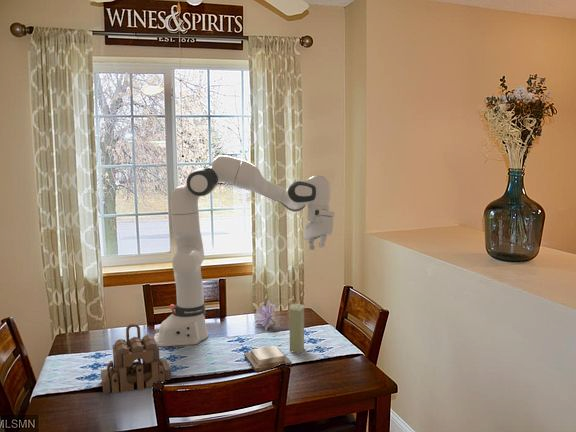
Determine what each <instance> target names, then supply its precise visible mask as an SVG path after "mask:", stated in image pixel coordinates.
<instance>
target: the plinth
mask: <svg viewBox="0 0 576 432" xmlns="http://www.w3.org/2000/svg"><path fill="white" fill-rule="evenodd" d="M244 356H245V357H244ZM243 357H244V358H245V359H247V360H248V361H247V360H246V361H247V362H248V364H249V363H250V364H249V365H250V367H251V366H252V367H251V368H252V369H253V371H254V372H261V371H267V370H271V368H273V369H275V368H274V367H276V366H278V365H279V364H283V363H284V364H287V365H290V366H292V365H293V362H292V360H290V359H289V357H287V355H286V354H285V353H284V352H283V351H282V350H281V349H280V348H279V347H277V346H276V345H272V346H265V347H259V348H251V349H250V352H246V353H244V354H243Z"/></svg>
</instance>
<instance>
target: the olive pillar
mask: <svg viewBox="0 0 576 432" xmlns="http://www.w3.org/2000/svg"><path fill="white" fill-rule="evenodd" d="M288 308H289V310H288V313H289V352H290V351H293V352H292V353H297V352H301V351H302V350H303V351H304V350H305V304H301V303H300V304H299V303H292V304H291V305H290V306H289V307H288ZM303 351H302V352H303ZM302 352H301V353H302Z"/></svg>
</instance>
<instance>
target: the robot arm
mask: <svg viewBox="0 0 576 432" xmlns="http://www.w3.org/2000/svg"><path fill="white" fill-rule="evenodd" d="M219 183H225V184H228V185H230V186H233V187H237V188H240V189H243V190H247V191H249V192H253V193H255V194H259V195H260V196H264V197H266V198H269V199H270V200H274V201H276V202H278V203H280V204H281V205H282V206H283V207H284V208H286V209H287V210H288V211H291V212H300V211H302V210H303V209H304V208H305V207H306V206H307V220H308V221H307V222H306V223H305V226H304V231H303V239H304V241H307V243H308V250H309V251H314V250H315V244H314V242H315V240H319V239H320V241H319V243H318V247H319V248H324V247H325V243H326V240H327V236H330V235H332V233H333V228H334V217H335V211H332V210H330V204H329V203H330V199H331V185H330V181H329V180H328V178H326V177H325V176H323V175H322V176H321V175H313V176H311V177H309V178H307V179H304V180H296V181H293V182H292V183H291V184H290V185H289V186H288V187H287V188H285V187H283V186H280V185H278V184H275V183H272V182H271V181H269V180H267V179H266V178H265V177H264V176H263V174H262V172H261V171H260V169H259V167H258V166H257V165H254V164H253V163H251V162H249V161H247V160H245V159H240V158H238V157H234V156H231V155H230V156H229V155H223V154H220V155H217V156H215V158H214V159H213V160H212V162H211V165H210V166H209V167H198V168H196V169H194V170H193V171H191V172H190V173H189V174H188V176H187V179H186V184H185V185H184V184H183V185H179V186H177V187H175V188H173V189H172V191H171V197H170V216H171V227H172V228H171V229H172V235H173V237H174V241H175V245H176V246H175V247H176V253H175V254H174V255H173V257H172V269H173V276H174V283H175V290H176V292H175V293H176V304H174V303H172V304H170V305H169V308H170V310H171V314H170V315H169V316H167V318H166V319H164V320H163V321H162V322H161V323H160V326H159V331H158V332H156V333H155V334H154V336H153V338H154V339H155V341H156V343H157V345H158V347H160V348H161V347H174V346H187V345H188V346H189V345H197V344H199V343H200V342H201V341H203V340H205V339H207V338H208V337H209V331H208V328H207V323H206V305H205V301H204V299H205V298H204V284H203V278H202V269H201V268H202V263H203V261H204V260H205V252H204V243H203V239H202V235H201V234H202V233H201V227H200V225H201V224H200V215H199V199H200V197H203V196H204V197H205V196H207V195H209V194H211V193H212V192H213V191H214V190H215V188H216V187H217V185H218V184H219Z"/></svg>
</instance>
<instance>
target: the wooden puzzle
mask: <svg viewBox="0 0 576 432" xmlns="http://www.w3.org/2000/svg"><path fill="white" fill-rule="evenodd" d="M131 328H136V333H137V336H133V337H131V338H130V329H131ZM125 337H126V339H122V338H119V339H118V340H115V343H114V344H112V354H113V355H112V357H113V358H112V359H113V360H111V361H109V362H108V363H107V366H106V369H101V370H100V379H101V380H102V381H101V380H100V381H101V385H102V384H103V385H102V392H103V395H107V394H110V393H112V394H115V393H116V394H117V393H119V392H120V393H126V392H131V391H135V384H136V389H137V390H136V391H143V390H145V388H146V389H148V388H152V385H153V383H154V382H157V381H161V382H165V383H166V381H165V380H170V379H172V369H171V366H170V364H169V362H168V360H167V359H166V358H163V359H161V358H160V346H158V345H157V343H156V341H155V339H154V336H152V334H151V335H150V334H146V335H144V336H143V337H142V338H141V328H140V326H139V325H138V324H137V323H130V324H129V325H128V326H126V329H125Z"/></svg>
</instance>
